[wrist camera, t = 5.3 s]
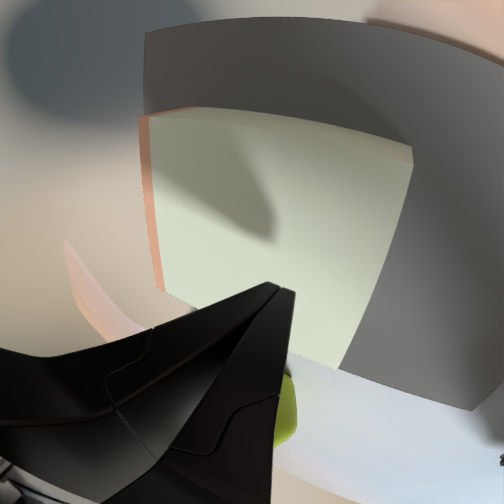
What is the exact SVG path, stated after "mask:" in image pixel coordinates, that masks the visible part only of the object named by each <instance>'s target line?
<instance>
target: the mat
mask: <svg viewBox="0 0 504 504" xmlns="http://www.w3.org/2000/svg"><path fill="white" fill-rule="evenodd" d="M193 106H195V107H211V108H224V109H234V110H244V111H252V112H260V113H268V114H275V115H281V116H288V117H294V118H299V119H305V120H310V121H316V122H321V123H325V124H330V125H335V126H339V127H344V128H348V129H352V130H356V131H360V132H364V133H368V134H372V135H375V136H379V137H383V138H386V139H390V140H393V141H396V142H400V143H403V144H406V145H409V146H412V154H413V163H414V166H413V170H412V174H411V178H410V182H409V186H408V189H407V193H406V197H405V200H404V204H403V207H402V210H401V214H400V217H399V220H398V223H397V226H396V230H395V233H394V236H393V239H392V242H391V245H390V247H389V250H388V253H387V256H386V259H385V261H384V264H383V267H382V270H381V272H380V275H379V277H378V280H377V283H376V285H375V288H374V290H373V293H372V295H371V298H370V300H369V302H368V305H367V307H366V309H365V312H364V314H363V316H362V319H361V321H360V323H359V325H358V328H357V330H356V332H355V334H354V336H353V339H352V341H351V343H350V345H349V347H348V349H347V351H346V353H345V355H344V357H343V359H342V361H341V363H340V365H339V367H338V369H341V370H344V371H346V372H349V373H352V374H354V375H357V376H360V377H362V378H365V379H368V380H371V381H374V382H377V383H379V384H382V385H385V386H388V387H391V388H394V389H397V390H400V391H403V392H406V393H410V394H413V395H416V396H419V397H422V398H426V399H429V400H432V401H436V402H439V403H443V404H446V405H450V406H453V407H457V408H461V409H465V410H468V411H473V410H474V409H475V408H476V407H477V406H478V405H479V404H480V403H482V402H483V401H484V400H485V399H486V398H487V397H488V396H489V395H490V394H491V393H492V392H493V391H494V390H495V389H496V388H497V387H498V386H499V385H500V384H501V383H502V382H503V381H504V67H502V66H500V65H498V64H496V63H494V62H492V61H490V60H487V59H485V58H483V57H480V56H478V55H476V54H473V53H471V52H468V51H466V50H463V49H460V48H457V47H455V46H452V45H449V44H446V43H443V42H440V41H437V40H434V39H430V38H427V37H423V36H420V35H416V34H412V33H408V32H404V31H400V30H396V29H391V28H386V27H381V26H376V25H370V24H364V23H357V22H350V21H342V20H333V19H322V18H306V17H251V18H235V19H224V20H215V21H206V22H199V23H193V24H187V25H181V26H175V27H171V28H165V29H160V30H156V31H152V32H147V33H145V47H144V115H148V114H153V113H158V112H163V111H169V110H174V109H180V108H187V107H193Z"/></svg>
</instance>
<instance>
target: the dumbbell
mask: <svg viewBox="0 0 504 504" xmlns="http://www.w3.org/2000/svg"><path fill="white" fill-rule="evenodd" d="M296 427H297V406H296V396H295V390H294V385H293V382H292V380H291V378H290V377H289V376H288V375H286V374H285V373H284V378H283V384H282V389H281V394H280V401H279V407H278V413H277V420H276V426H275V434H274V448H275V447H277V446H279V445H280V444H282V443H283V442H285V441H286V440H287V439H289V438H290V437H291V436H292V435H293V434H294V432H295V430H296ZM274 448H273V449H274Z"/></svg>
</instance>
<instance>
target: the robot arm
mask: <svg viewBox="0 0 504 504" xmlns="http://www.w3.org/2000/svg"><path fill="white" fill-rule="evenodd" d="M295 298H296V292H295V291H293V290H290V289H288V288H285V287H282V288H281V287H280V286H279V285H277V284H275V283H272V282H269V281H266V282H263V283H261V284H259V285H256V286H254V287H252V288H249V289H247V290H245V291H242V292H240V293H237V294H235V295H233V296H230V297H228V298H225V299H223V300H221V301H218V302H216V303H213V304H211V305H208V306H206V307H204V308H201V309H199V310H196V311H194V312H191V313H189V314H186V315H184V316H181V317H179V318H177V319H174V320H171V321H169V322H166V323H164V324H161V325H158V326H156V327H154V329H152V328H150V329H148V330H145V331H143V332H140V333H137V334H135V335H132V336H129V337H126V338H123V339H120V340H117V341H113V342H110V343H107V344H103V345H99V346H96V347H92V348H88V349H84V350H80V351H76V352H71V353H67V354H63V355H59V356H52V357H37V356H30V355H27V354H22V353H19V352H15V351H11V350H7V349H4V348H0V504H91V503H92V502H96V503H99V504H271V489H272V466H273V448H274V434H275V426H276V420H277V413H278V407H279V401H280V394H281V389H282V384H283V378H284V372H285V366H286V360H287V353H288V347H289V340H290V334H291V327H292V320H293V313H294V306H295ZM500 466H504V459H502V460H501V461H500Z"/></svg>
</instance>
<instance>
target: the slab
mask: <svg viewBox="0 0 504 504" xmlns="http://www.w3.org/2000/svg"><path fill="white" fill-rule="evenodd" d="M138 123H139V144H140V158H141V159H140V160H141V173H142V184H143V193H144V204H145V212H146V220H147V228H148V235H149V242H150V249H151V256H152V262H153V268H154V274H155V279H156V285H157V288H158V289H160V290H162V291H164V292H166V293H168V294H170V295H172V296H173V297H175V298H177V299H179V300H181V301H183V302H185V303H187V304H189V305H191V306H193V307H195V308H197V309H201V308H204V307H206V306H208V305H211V304H213V303H216V302H218V301H221V300H223V299H225V298H228V297H230V296H233V295H235V294H237V293H240V292H242V291H245V290H247V289H249V288H252V287H254V286H256V285H259V284H261V283H263V282H266V281H269V282H272V283H275V284H277V285H279V286H280V287H281V288H282V287H285V288H288V289H290V290H293V291H295V292H296V298H295V306H294V313H293V320H292V327H291V334H290V340H289V347H288V351H290V352H292V353H294V354H297V355H299V356H302V357H304V358H307V359H309V360H311V361H314V362H316V363H319V364H321V365H324V366H327V367H329V368H332V369H334V370H337V369H338V367H339V365H340V363H341V361H342V359H343V357H344V355H345V353H346V351H347V349H348V347H349V345H350V343H351V341H352V339H353V336H354V334H355V332H356V330H357V328H358V325H359V323H360V321H361V319H362V316H363V314H364V312H365V309H366V307H367V305H368V302H369V300H370V298H371V295H372V293H373V290H374V288H375V285H376V283H377V280H378V277H379V275H380V272H381V270H382V267H383V264H384V261H385V259H386V256H387V253H388V250H389V247H390V245H391V242H392V239H393V236H394V233H395V230H396V226H397V223H398V220H399V217H400V214H401V210H402V207H403V204H404V200H405V197H406V193H407V189H408V186H409V182H410V178H411V174H412V170H413V166H414V163H413V154H412V146H409V145H406V144H403V143H400V142H396V141H393V140H390V139H386V138H383V137H379V136H375V135H372V134H368V133H364V132H360V131H356V130H352V129H348V128H344V127H339V126H335V125H330V124H325V123H321V122H316V121H310V120H305V119H299V118H294V117H288V116H281V115H275V114H268V113H260V112H252V111H244V110H234V109H224V108H211V107H195V106H193V107H187V108H180V109H174V110H169V111H163V112H158V113H153V114H148V115H144V116H139V117H138Z"/></svg>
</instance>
